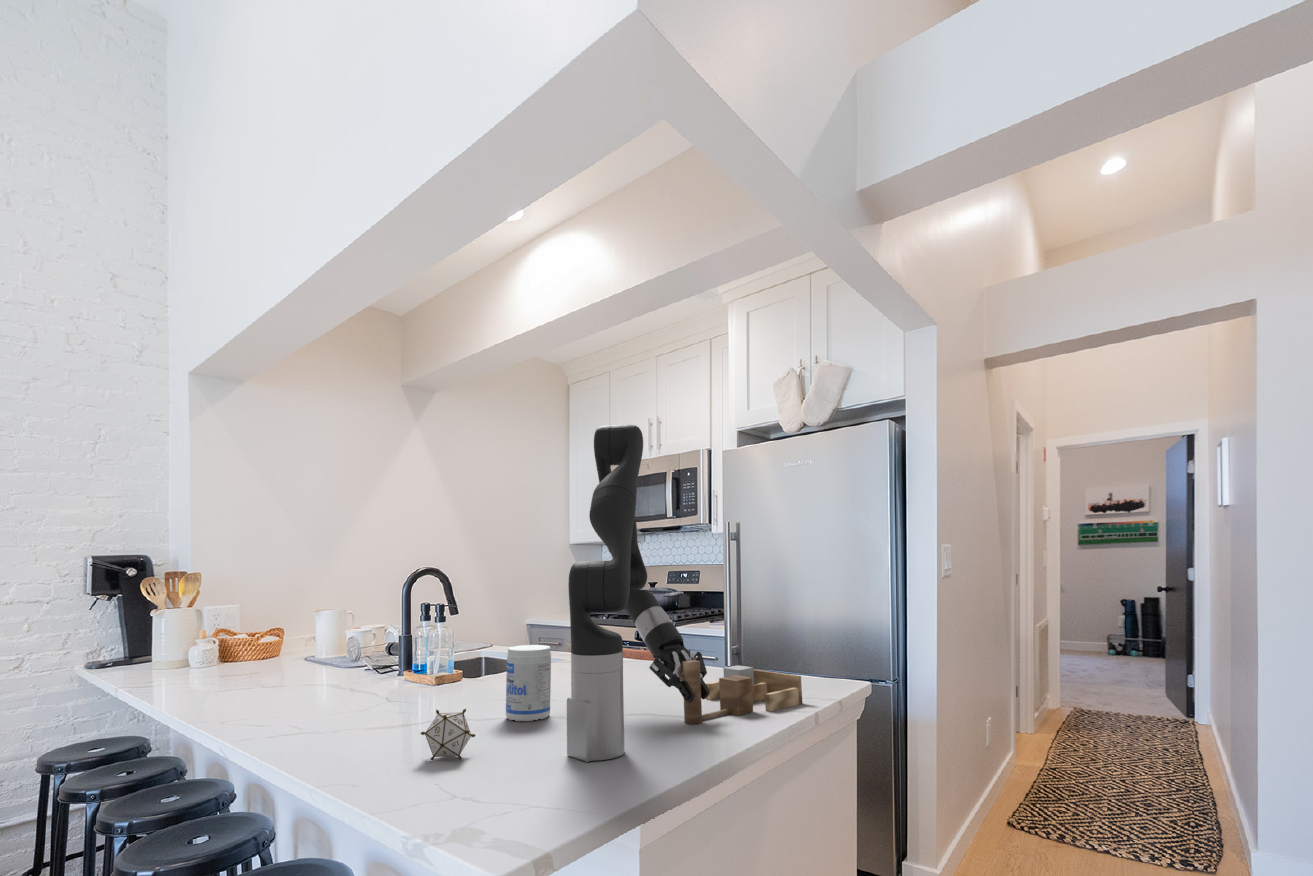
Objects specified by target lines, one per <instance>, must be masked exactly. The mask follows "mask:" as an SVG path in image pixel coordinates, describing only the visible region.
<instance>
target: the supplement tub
mask: <svg viewBox="0 0 1313 876" xmlns="http://www.w3.org/2000/svg"><path fill="white" fill-rule="evenodd" d="M506 655H507V657H506V682H505V683H506V686H505V687H506V688H505V689H506V691H505V692H506V693H505V716H506V718H507V719H508V720H510V721H512V720H515V721H514V722H520V721H521V722H534V721H533V720H537V721H539V720H538V719H541V720H544V719H546V718H548V717H549V716H550V714H551V689H552V688H551V683H552V681H551V680H552V679H551V678H552V677H551V676H552V652H551V646H549V645H545V644H544V645H543V644H542V645H541V644H524V645H523V644H522V645H515V646H510V647H508V650H507V654H506Z"/></svg>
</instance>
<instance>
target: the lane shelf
mask: <svg viewBox="0 0 1313 876" xmlns="http://www.w3.org/2000/svg"><path fill="white" fill-rule="evenodd" d="M753 671H754V684H753V685H752V695H753V703H756V702H761V701H763V700H764V702H765V704H764V705H765V712H773V711H774V712H775V711H777V710H782V709H785V708H790V707H794V706H798V705H801V704H803V687H802V675H799V674H798V675H797V674H790V673H784V672H776V671H770V670H764V669H763V670H761V669H755V668H753ZM705 684H706V686H707V687H708V688H709V691H710V694H709V696H708V697H707V698H706V699H705V700H709V701H710V700H715V699H720V688H719V680H718V681H713V682H712V681H711V682H707V683H706V682H705Z"/></svg>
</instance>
